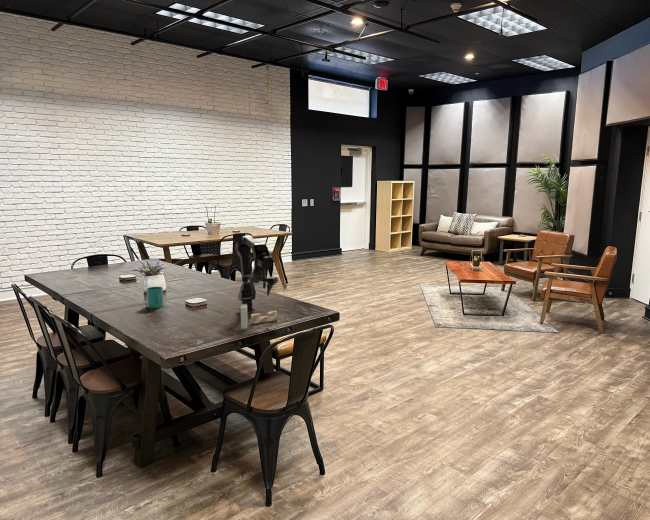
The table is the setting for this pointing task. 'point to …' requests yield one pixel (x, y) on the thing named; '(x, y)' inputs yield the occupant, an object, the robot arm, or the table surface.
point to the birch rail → (258, 319)
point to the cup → (155, 297)
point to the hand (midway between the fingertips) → (260, 295)
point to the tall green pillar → (244, 316)
